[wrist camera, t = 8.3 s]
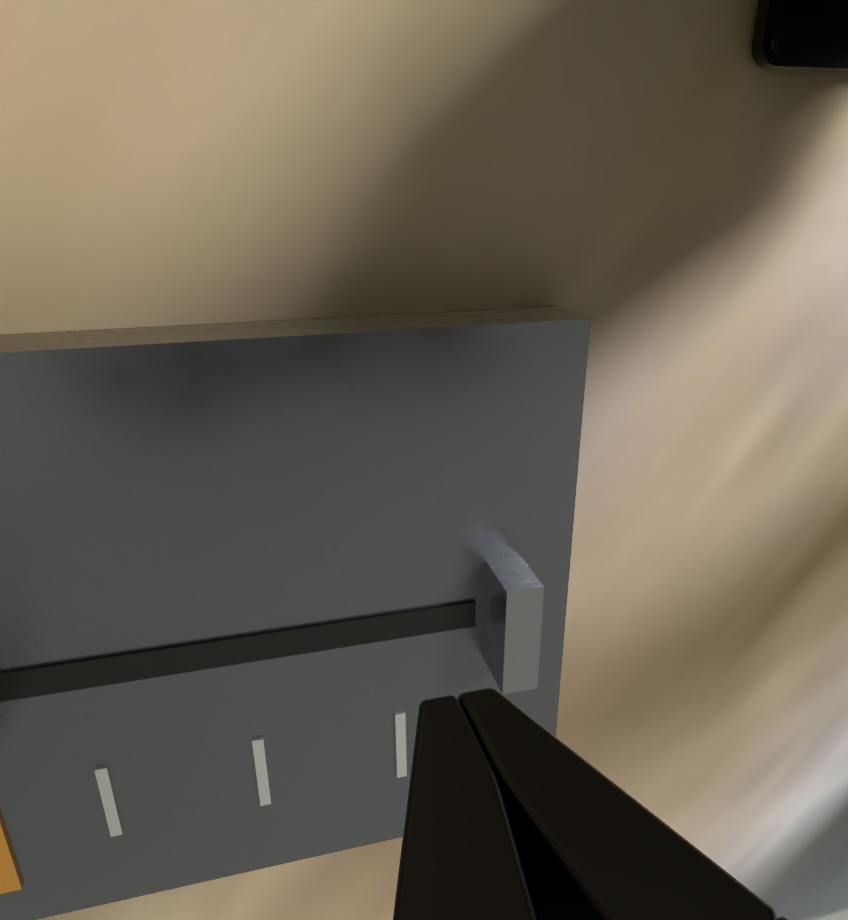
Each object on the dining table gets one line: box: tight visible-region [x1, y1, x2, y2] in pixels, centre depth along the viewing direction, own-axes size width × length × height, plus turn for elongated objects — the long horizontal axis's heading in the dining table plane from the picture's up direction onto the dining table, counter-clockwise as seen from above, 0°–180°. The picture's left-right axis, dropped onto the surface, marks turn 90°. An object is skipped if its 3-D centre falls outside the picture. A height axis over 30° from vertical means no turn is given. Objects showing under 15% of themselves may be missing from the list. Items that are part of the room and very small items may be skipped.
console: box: [0, 306, 590, 920], centre depth 17 cm, size 22×16×4 cm
